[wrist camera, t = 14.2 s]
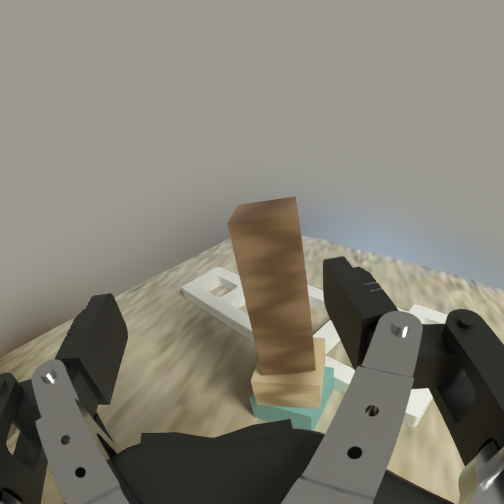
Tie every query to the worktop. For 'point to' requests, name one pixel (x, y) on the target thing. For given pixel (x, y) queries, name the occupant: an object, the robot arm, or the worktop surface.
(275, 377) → the tower mid
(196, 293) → the holder
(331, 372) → the tower base
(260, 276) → the walnut column
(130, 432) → the worktop surface
